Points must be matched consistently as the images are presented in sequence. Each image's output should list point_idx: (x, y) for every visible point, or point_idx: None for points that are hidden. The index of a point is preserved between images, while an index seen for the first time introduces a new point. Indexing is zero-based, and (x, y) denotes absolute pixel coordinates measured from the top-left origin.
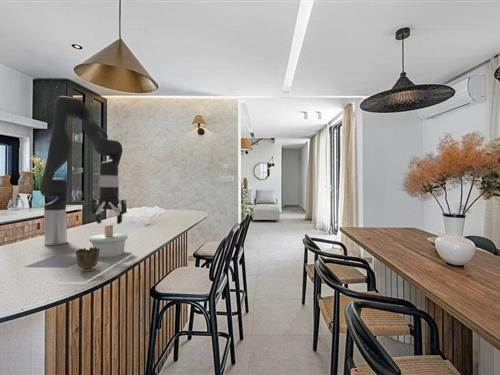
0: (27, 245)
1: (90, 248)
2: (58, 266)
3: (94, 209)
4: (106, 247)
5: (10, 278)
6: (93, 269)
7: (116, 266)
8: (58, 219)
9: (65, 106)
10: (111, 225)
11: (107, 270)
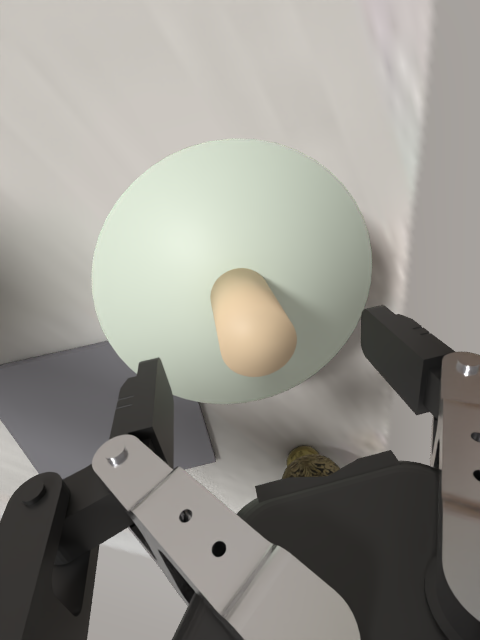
0: None
1: None
2: (174, 465)
3: (90, 584)
4: None
5: (132, 543)
6: (318, 453)
7: (361, 390)
8: None
9: None
10: (294, 349)
11: (352, 428)
